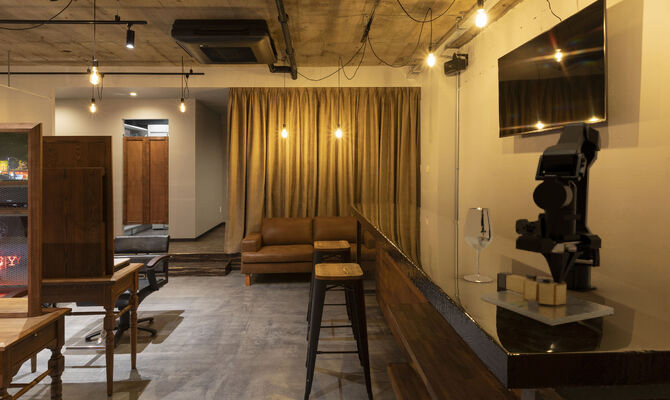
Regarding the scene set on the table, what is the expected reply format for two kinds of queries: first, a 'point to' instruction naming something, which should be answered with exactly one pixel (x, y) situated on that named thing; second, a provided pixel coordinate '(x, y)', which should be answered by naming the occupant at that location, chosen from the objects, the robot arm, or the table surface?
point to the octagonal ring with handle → (534, 288)
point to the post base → (548, 306)
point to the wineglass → (478, 236)
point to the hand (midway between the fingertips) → (557, 282)
